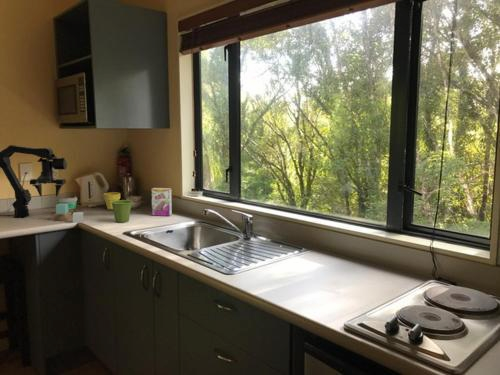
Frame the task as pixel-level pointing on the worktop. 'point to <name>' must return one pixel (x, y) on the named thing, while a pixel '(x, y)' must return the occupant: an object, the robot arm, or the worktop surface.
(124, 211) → the plant pot
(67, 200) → the food container
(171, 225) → the worktop surface
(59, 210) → the teal cube
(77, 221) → the grey cube
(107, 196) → the plant pot
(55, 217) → the walnut block
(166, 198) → the candy bar box
